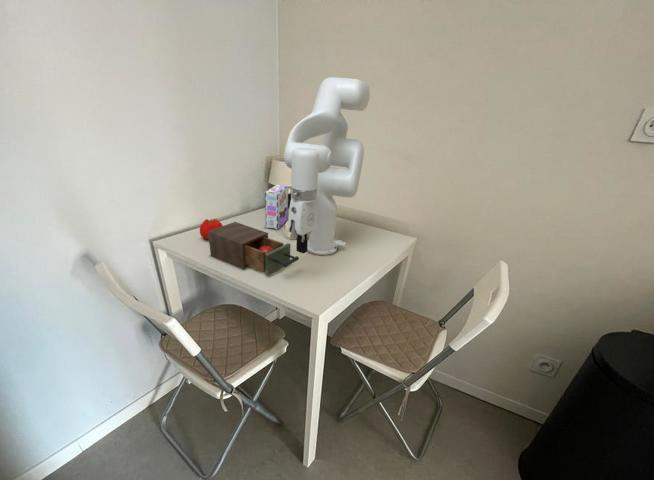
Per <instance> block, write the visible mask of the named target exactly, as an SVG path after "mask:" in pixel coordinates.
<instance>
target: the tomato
mask: <svg viewBox="0 0 654 480" xmlns="http://www.w3.org/2000/svg"><path fill="white" fill-rule="evenodd" d="M222 226H224V225H223V224H222V222H220V221H219V220H218V219H217V218H212V219H207V218H206V219H205V220H204V221H203V222H202V223H201V224H200V225H199V234H200V237H202V238H203V239H204V240H208V241H209V236H208V231H210V230H213V229H216V228H219V227H222Z"/></svg>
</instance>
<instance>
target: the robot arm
mask: <svg viewBox="0 0 654 480" xmlns="http://www.w3.org/2000/svg"><path fill="white" fill-rule="evenodd" d="M370 91H371V90H370V86H369V84H368V82H366V81H364V80H361V79H359V78H351V77H336V76H330V77H327V78H325V79H323V80H322V81H321V83H320V85H319V87H318V91H317V95H316V97H315V101H314V104H313V107H312V109H311V113H310V114H308V115H307V116H305V117H303V118H302V119H300V121H298V122H296V124H295V125H294V126H293V127H292V128H291V130H290V132H289V134H288V137H287V140H286V144H285V147H284V151H283V160H284V164H285V166H286V167H287V168H288V169H291V173H290V175H291V176H290V178H291V180H290V181H291V182H290V202H289V207H288V220H287V222H288V223H287V226H288V227H287V228H288V232H289V233H290V235H289V236H290V239H293V240H295V241H296V247H295V249H296V250H295V251H296V252H298V253H301V254H306V253H308V252H309V253H311V254H314V255H318V256H328V255H332V254H335V253H336V252H337V251H338V247H343V248H345V247H346V241H343V240H342V239H336V237H335V233H336V221H337V211H338V210H337V209H338V208H337V203H336V200H335V199H334V197H339V198H353V197H355V196H356V194H357V192H358V189H359V185H360V179H361V173H362V167H363V163H364V161H363V160H364V156H365V148H364V147H365V146H364V144H363V142H362V141H360V140H359V139H355V138H347V135H348V129H349V127H348V123H347V120H346V118H345V117H344V115H343V114H342V112H341V110H347V111H356V112H357V111H359V112H360V111H361V112H363V111H364V110H366V109H367V107H368V105H369V102H370V98H371V97H370V96H371V95H370V94H371V92H370ZM320 136H322V138H321V142H320V144H315V143H307V142H306V141H308V140H310V139H312V138H317V137H320ZM305 142H306V143H305ZM340 167H341V168H340Z"/></svg>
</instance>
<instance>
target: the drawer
mask: <svg viewBox="0 0 654 480" xmlns="http://www.w3.org/2000/svg"><path fill="white" fill-rule="evenodd" d="M265 244H266V246H270V247H271V248H272V249H273V251H271V252H269V253H267V254H265V252H263V251H260V250H259V248H260V247H262V246H265ZM244 255H245V265H247V266H250V267H249V268H252V269H255V270H258V271H259V272H262V273H265V276H266V277H269V276H272V275H274V274H275V273H277V272H279V271H281V270H282V269H284V268H286V267H289V266H291V265H292V264H294V263H295V262H297V261H299V260H300V257H299V256H298V255H297V256H296V255H295V256H294V255H292V254H291V243H289V242H287V243H285V244H284V243H283V242H281V241H278V240H275V239H272V238H269V237H268V238H267V237H263V238H260V239H258V240H256V241H253V242H251V243H249V244H247V245H244Z"/></svg>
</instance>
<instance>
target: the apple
mask: <svg viewBox="0 0 654 480" xmlns="http://www.w3.org/2000/svg"><path fill="white" fill-rule="evenodd" d="M259 250H260V251H263V252H265V254H267V253H269V252H271V251H273V249H272V248H271V247H270V246H266V244H265V246H262V247H260V248H259Z"/></svg>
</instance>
